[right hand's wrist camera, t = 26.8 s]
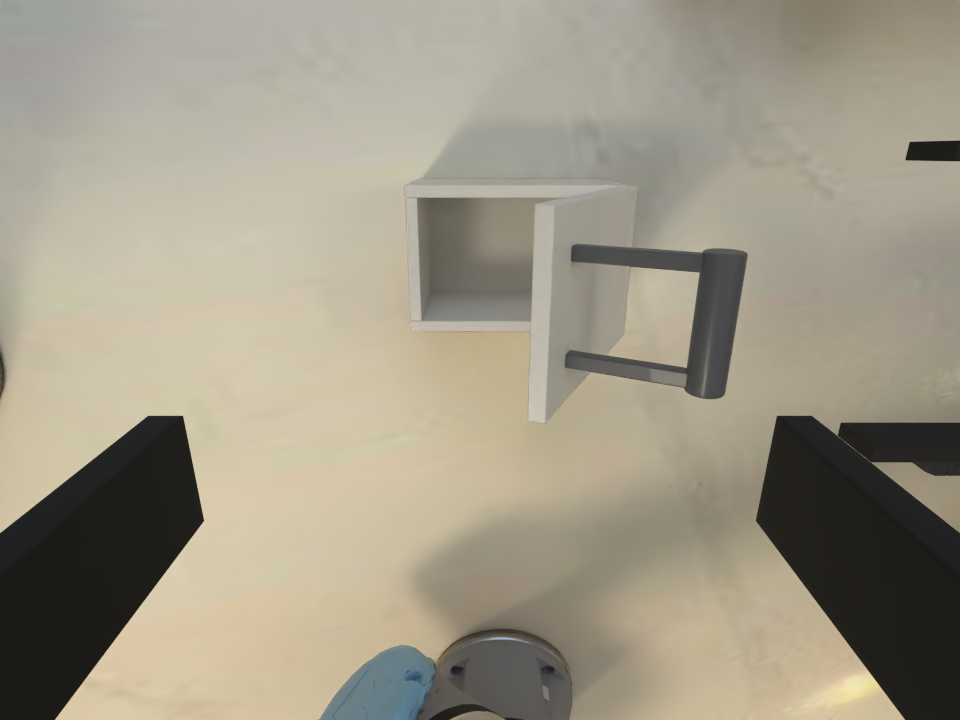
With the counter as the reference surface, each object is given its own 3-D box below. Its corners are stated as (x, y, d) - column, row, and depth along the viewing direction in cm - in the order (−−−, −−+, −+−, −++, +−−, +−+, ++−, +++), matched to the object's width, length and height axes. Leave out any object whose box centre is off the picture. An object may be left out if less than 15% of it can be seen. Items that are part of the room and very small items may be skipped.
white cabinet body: (424, 297, 47) (410, 331, 38) (420, 178, 44) (404, 185, 35) (590, 297, 47) (616, 331, 38) (598, 178, 44) (628, 185, 35)
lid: (526, 421, 26) (711, 461, 22) (533, 203, 22) (751, 212, 19) (611, 333, 38) (737, 350, 35) (623, 185, 35) (765, 188, 31)
